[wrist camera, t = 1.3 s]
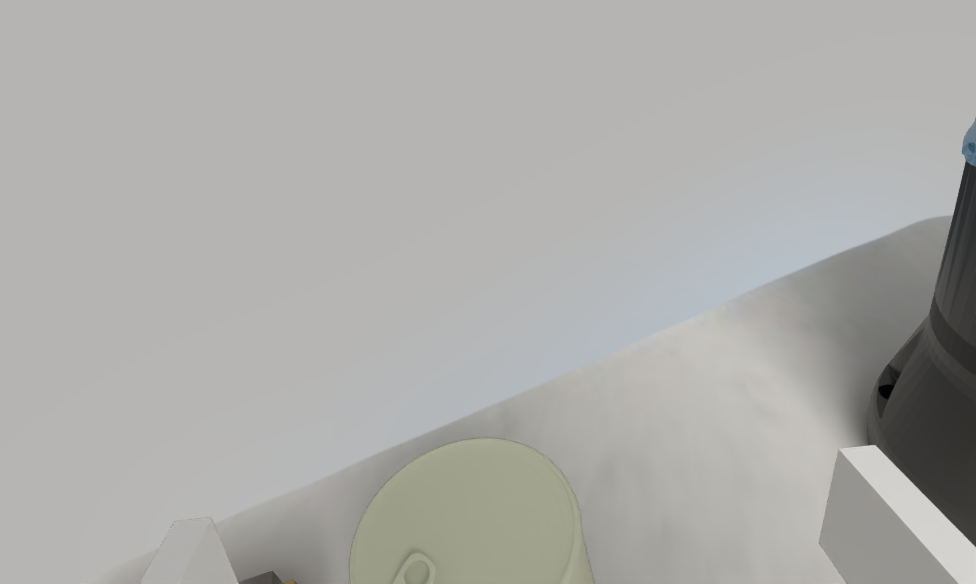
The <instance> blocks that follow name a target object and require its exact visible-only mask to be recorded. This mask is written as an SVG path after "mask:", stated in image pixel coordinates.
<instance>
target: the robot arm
mask: <svg viewBox="0 0 976 584" xmlns="http://www.w3.org/2000/svg"><path fill="white" fill-rule="evenodd" d="M962 154H964V155H965V159H966V163H965V168H964V171H963V176H962V180H961V184H960V189H959V193H958V198H957V202H956V207H955V211H954V215H953V219H952V223H951V227H950V231H949V235H948V239H947V243H946V247H945V251H944V255H943V259H942V263H941V267H940V271H939V275H938V279H937V283H936V287H935V292H934V297H933V301H932V305H931V309H930V313H929V315H928V316H927V318H926V319H925V320H924V321H923V322H922V324H921V325H920V326H919V327H918V328H917V330H916V331H915V332H914V333H913V335H912V336H911V337H910V338H909V339H908V341H907V342H906V343H905V344H904V346H903V347H902V348H901V349H900V350H899V352H898V353H897V354H896V355H895V357H894V358H893V359H892V360H891V361H890V363H889V364H888V365H887V366H886V368H885V369H884V370H883V372H882V373H881V375H880V376H879V378H878V380H877V383H876V385H875V387H874V390H873V393H872V398H871V403H870V409H869V414H868V420H867V435H868V441H869V446H860V447H851V448H842V449H838V454H837V458H836V463H835V468H834V473H833V477H832V482H831V487H830V492H829V496H828V501H827V506H826V511H825V516H824V520H823V525H822V530H821V535H820V539H819V544H820V546H821V547H822V549H823V550H824V552H825V553H826V554H827V556H828V557H829V559H830V560H831V562H832V563H833V565H834V566H835V567H836V569H837V570H838V572H839V573H840V575H841V576H842V578H843V579H844V580H845V582H846V583H847V584H976V119H975V122H974V124H973V125H972V126H971V127H970V129H969V130H968V132H967V133H966V135H965V137H964V140H963V147H962ZM139 584H239V583H238V581H237V578H236V576H235V573H234V571H233V569H232V566H231V564H230V561H229V559H228V556H227V554H226V552H225V549H224V547H223V544H222V542H221V539H220V537H219V535H218V532H217V530H216V527H215V525H214V522H213V520H212V518H211V517H207V518H198V519H189V520H179V521H174V523H173V525H172V527H171V528H170V530H169V532H168V534H167V535H166V537H165V539H164V541H163V543H162V544H161V546H160V548H159V549H158V551H157V553H156V555H155V557H154V558H153V560H152V562H151V564H150V565H149V567H148V569H147V571H146V572H145V574H144V576H143V578H142V580H141V581H140V583H139Z"/></svg>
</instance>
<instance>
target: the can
mask: <svg viewBox="0 0 976 584" xmlns="http://www.w3.org/2000/svg"><path fill="white" fill-rule="evenodd" d="M349 580H350V584H595V582H594V578H593V574H592V570H591V566H590V562H589V558H588V554H587V549H586V545H585V541H584V536H583V532H582V523H581V515H580V510H579V506H578V502H577V499H576V496H575V494H574V491H573V489H572V487H571V485H570V483H569V482H568V480H567V479H566V477H565V476H564V475H563V473H562V472H561V470H560V469H559V468H558V467H557V466H556V465H555V464H554V463H553V462H552V461H551V460H549V459H548V458H547V457H545V456H544V455H543V454H541V453H540V452H538V451H536V450H535V449H533V448H530V447H528V446H526V445H523V444H521V443H518V442H514V441H509V440H505V439H497V438H473V439H465V440H461V441H457V442H452V443H449V444H446V445H443V446H440V447H438V448H435V449H433V450H431V451H429V452H427V453H425V454H423V455H421V456H419V457H417V458H416V459H414V460H413V461H411V462H410V463H408V464H407V465H406V466H404V467H403V468H402V469H400V470H399V471H398V472H397V473H396V474H395V475H393V476H392V477H391V478H390V479H389V480H388V481H387V482H386V483H385V484H384V486H383V487H382V488H381V489H380V490H379V491H378V493H377V494H376V495H375V496H374V498H373V499H372V501H371V502H370V504H369V505H368V507H367V509H366V510H365V512H364V514H363V516H362V518H361V520H360V522H359V524H358V527H357V529H356V532H355V535H354V539H353V542H352V546H351V552H350V559H349Z"/></svg>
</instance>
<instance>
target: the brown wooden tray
mask: <svg viewBox="0 0 976 584" xmlns="http://www.w3.org/2000/svg"><path fill="white" fill-rule="evenodd" d="M239 584H297V583H296V582H295V581H294V579H293V580H290V581H287V582H284V583H282V582H281V581H280V579H279V578H278V577H277V576H276V574H275V573H274V572H273V571H271V572H268V573H265V574H262V575H259V576H256V577H253V578H250V579H248V580H245V581H242V582H239Z"/></svg>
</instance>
